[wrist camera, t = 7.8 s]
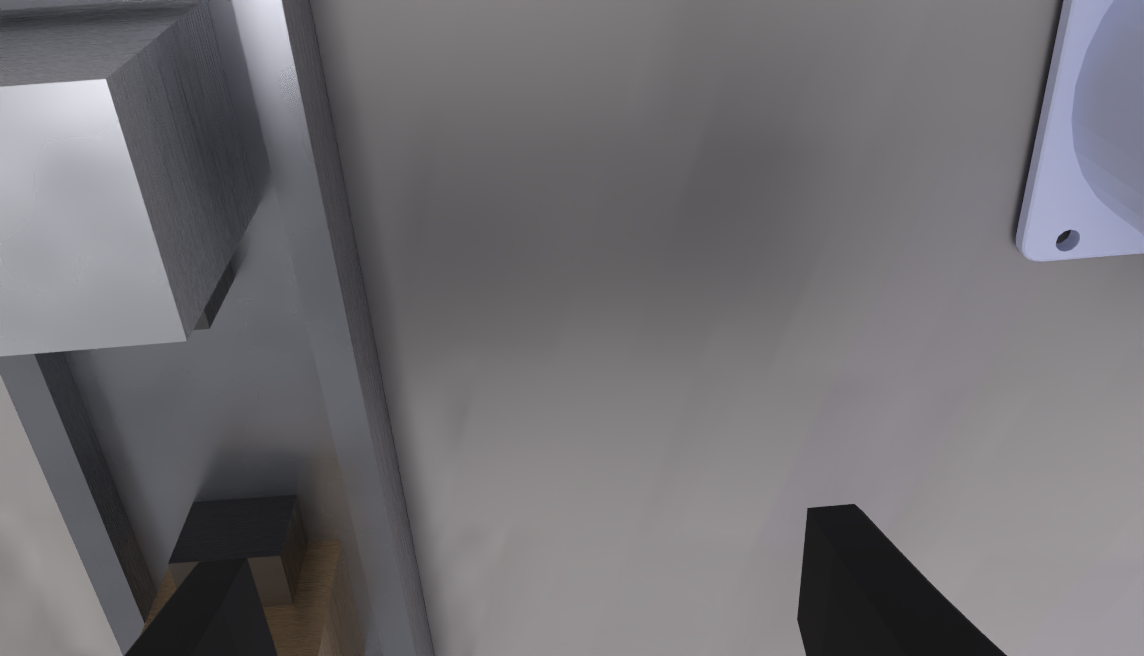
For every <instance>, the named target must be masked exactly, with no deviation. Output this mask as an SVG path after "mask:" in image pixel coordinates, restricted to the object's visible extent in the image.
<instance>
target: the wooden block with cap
mask: <svg viewBox="0 0 1144 656" xmlns="http://www.w3.org/2000/svg"><path fill="white" fill-rule="evenodd" d="M238 558H247V559H248V562H249V565H250V569H251V572H252V575H253V578H254V581H255V585H256V588H257V591H258V594H259V597H260V600H261V604H262V607H263V610H264V613H265V616H266V620H267V623H268V626H269V629H270V632H271V635H272V639H273V642H274V645H275V648H276V651H277V655H278V656H365V650H364V645H363V641H362V636H361V631H360V626H359V622H358V617H357V612H356V607H355V603H354V598H353V593H352V588H351V584H350V579H349V574H348V569H347V565H346V560H345V555H344V551H343V546H342V541H341V540H333V541H319V542H308V540H307V536H306V532H305V527H304V523H303V519H302V515H301V510H300V506H299V502H298V498H297V495H286V496H272V497H257V498H243V499H229V500H214V501H200V502H193V503H192V506H191V508H190V511H189V513H188V516H187V518H186V521H185V523H184V525H183V528H182V530H181V533H180V535H179V538H178V540H177V543H176V545H175V548H174V550H173V552H172V555H171V557H170V560H169V562H168V568H167V571H166V573H165V576H164V578H163V581H162V583H161V586H160V588H159V590H158V593H157V595H156V598H155V600H154V603H153V605H152V608H151V610H150V613H149V615H148V617H147V620H146V622H145V625H144V627H143V630H142V632H143V631H144V630H145V629H146V627H147V626H148V625H149V624H150V622H151V621H152V620H153V619H154V617H155V616H156V615H157V613H158V612H159V611H160V610H161V608H162V607H163V606H164V605H165V603H166V602H167V601H168V599H169V598H170V597H171V596H172V594H173V593H174V592H175V590H176V589H177V588H178V587H179V585H180V584H181V583H182V582H183V580H184V579H185V578H186V577H187V575H188V574H189V573H190V572H191V570H192V569H193V568H194V567H195V566H196V565H197V564H198V563H199V562H204V561H215V560H227V559H238ZM142 632H141V634H142Z"/></svg>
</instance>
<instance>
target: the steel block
mask: <svg viewBox="0 0 1144 656" xmlns="http://www.w3.org/2000/svg"><path fill="white" fill-rule="evenodd" d="M257 208H258V206H257V202H256V198H255V194H254V190H253V185H252V181H251V177H250V173H249V169H248V165H247V161H246V157H245V153H244V149H243V144H242V140H241V136H240V132H239V128H238V124H237V120H236V116H235V112H234V107H233V103H232V99H231V95H230V91H229V87H228V83H227V79H226V75H225V71H224V66H223V62H222V58H221V54H220V50H219V46H218V42H217V38H216V34H215V29H214V25H213V21H212V17H211V13H210V9H209V5H208V1H207V0H148V1H134V2H120V3H106V4H92V5H78V6H64V7H50V8H36V9H22V10H8V11H0V356H12V355H25V354H37V353H49V352H61V351H74V350H86V349H98V348H110V347H122V346H135V345H147V344H159V343H171V342H184V341H187V340H188V338H189V336H190V335H191V333H192V331H193V330H202V329H210V327H211V325H212V323H213V321H214V319H215V317H216V315H217V313H218V311H219V309H220V307H221V305H222V303H223V301H224V299H225V297H226V295H227V293H228V291H229V289H230V287H231V285H232V283H233V281H234V279H235V277H234V273H233V270H232V266H231V262H230V259H231V257H232V256H233V254H234V252H235V250H236V248H237V246H238V244H239V242H240V240H241V239H242V237H243V235H244V233H245V231H246V229H247V227H248V225H249V224H250V222H251V220H252V218H253V216H254V214H255V212H256V210H257Z"/></svg>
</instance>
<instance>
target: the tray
mask: <svg viewBox="0 0 1144 656" xmlns="http://www.w3.org/2000/svg"><path fill="white" fill-rule="evenodd" d="M134 1H148V0H0V11H8V10H22V9H36V8H50V7H64V6H78V5H92V4H106V3H120V2H134ZM207 1H208V5H209V9H210V13H211V17H212V21H213V25H214V29H215V34H216V38H217V42H218V46H219V50H220V54H221V58H222V62H223V66H224V71H225V75H226V79H227V83H228V87H229V91H230V95H231V99H232V103H233V107H234V112H235V116H236V120H237V124H238V128H239V132H240V136H241V140H242V144H243V149H244V153H245V157H246V161H247V165H248V169H249V173H250V177H251V181H252V185H253V190H254V194H255V198H256V202H257V206H258V208H257V210H256V212H255V214H254V216H253V218H252V220H251V222H250V224H249V225H248V227H247V229H246V231H245V233H244V235H243V237H242V239H241V240H240V242H239V244H238V246H237V248H236V250H235V252H234V254H233V256H232V257H231V259H230V262H231V266H232V270H233V273H234V277H235V279H234V281H233V283H232V285H231V287H230V289H229V291H228V293H227V295H226V297H225V299H224V301H223V303H222V305H221V307H220V309H219V311H218V313H217V315H216V317H215V319H214V321H213V323H212V325H211V327H210V329H202V330H193V331H192V333H191V335H190V336H189V338H188V340H187V341H184V342H171V343H159V344H147V345H135V346H122V347H110V348H98V349H86V350H74V351H61V352H49V353H37V354H25V355H12V356H0V374H1V377H2V379H3V381H4V383H5V386H6V388H7V390H8V393H9V395H10V397H11V400H12V402H13V404H14V406H15V409H16V411H17V413H18V416H19V418H20V420H21V422H22V425H23V427H24V429H25V432H26V434H27V436H28V439H29V441H30V443H31V445H32V448H33V450H34V452H35V455H36V457H37V459H38V461H39V464H40V466H41V468H42V471H43V473H44V475H45V477H46V480H47V482H48V484H49V487H50V489H51V491H52V494H53V496H54V498H55V500H56V503H57V505H58V507H59V510H60V512H61V514H62V516H63V519H64V521H65V523H66V526H67V528H68V530H69V532H70V535H71V537H72V539H73V542H74V544H75V546H76V549H77V551H78V553H79V555H80V558H81V560H82V562H83V565H84V567H85V569H86V571H87V574H88V576H89V578H90V581H91V583H92V585H93V587H94V590H95V592H96V594H97V597H98V599H99V601H100V604H101V606H102V608H103V610H104V613H105V615H106V617H107V620H108V622H109V624H110V626H111V629H112V631H113V633H114V636H115V638H116V640H117V643H118V645H119V647H120V649H121V652H122V654H123V656H124V655H125V654H126V653H127V651H128V650H129V649H130V648H131V646H132V645H133V644H134V643H135V641H136V640H137V639H138V638H139V636H140V635H141V632H142V630H143V627H144V625H145V622H146V620H147V617H148V615H149V613H150V610H151V608H152V605H153V603H154V600H155V598H156V595H157V593H158V590H159V588H160V586H161V583H162V581H163V578H164V576H165V573H166V571H167V568H168V562H169V560H170V557H171V555H172V552H173V550H174V548H175V545H176V543H177V540H178V538H179V535H180V533H181V530H182V528H183V525H184V523H185V521H186V518H187V516H188V513H189V511H190V508H191V506H192V503H193V502H200V501H214V500H229V499H243V498H257V497H272V496H286V495H297V498H298V502H299V506H300V510H301V515H302V519H303V523H304V527H305V532H306V536H307V540H308V542H319V541H333V540H341V541H342V546H343V551H344V555H345V560H346V565H347V569H348V574H349V579H350V584H351V588H352V593H353V598H354V603H355V607H356V612H357V617H358V622H359V626H360V631H361V636H362V641H363V645H364V650H365V656H434V652H433V647H432V641H431V636H430V631H429V626H428V620H427V615H426V610H425V605H424V599H423V594H422V589H421V584H420V578H419V573H418V568H417V563H416V557H415V552H414V547H413V542H412V536H411V531H410V526H409V521H408V515H407V510H406V505H405V500H404V495H403V489H402V484H401V479H400V474H399V468H398V463H397V458H396V453H395V447H394V442H393V437H392V432H391V426H390V421H389V416H388V411H387V405H386V400H385V395H384V390H383V384H382V379H381V374H380V369H379V363H378V358H377V353H376V348H375V342H374V337H373V332H372V327H371V321H370V316H369V311H368V306H367V300H366V295H365V290H364V285H363V279H362V274H361V269H360V264H359V258H358V253H357V248H356V243H355V238H354V232H353V227H352V222H351V217H350V211H349V206H348V201H347V196H346V190H345V185H344V180H343V175H342V169H341V164H340V159H339V154H338V148H337V143H336V138H335V133H334V127H333V122H332V117H331V112H330V106H329V101H328V96H327V91H326V85H325V80H324V75H323V70H322V64H321V59H320V54H319V49H318V43H317V38H316V33H315V28H314V22H313V17H312V12H311V7H310V1H309V0H207Z"/></svg>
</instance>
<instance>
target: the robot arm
mask: <svg viewBox="0 0 1144 656" xmlns="http://www.w3.org/2000/svg"><path fill="white" fill-rule="evenodd" d="M1067 230H1071V232H1070V234H1069V236H1068V238H1067V239H1065V240H1064V241H1063V242H1061V243H1057V244H1056V240H1057V238H1058V236H1059V235H1061V234H1062V233H1063V232H1064V231H1067ZM1016 246H1017V248H1018V250H1019V251H1020V252H1021V253H1022V254H1023V255H1024V256H1025V257H1026V258H1028V259H1029V260H1031V261H1037V262H1044V261H1056V260H1068V259H1080V258H1093V257H1105V256H1117V255H1129V254H1142V253H1144V0H1064V1H1063V6H1062V11H1061V16H1060V21H1059V26H1058V31H1057V36H1056V41H1055V46H1054V51H1053V56H1052V61H1051V65H1050V70H1049V75H1048V80H1047V85H1046V90H1045V95H1044V100H1043V105H1042V110H1041V115H1040V120H1039V125H1038V130H1037V135H1036V140H1035V145H1034V150H1033V155H1032V160H1031V165H1030V170H1029V174H1028V179H1027V184H1026V189H1025V194H1024V199H1023V204H1022V209H1021V214H1020V219H1019V224H1018V229H1017V234H1016ZM797 620H798V624H799V628H800V632H801V636H802V640H803V644H804V648H805V652H806V656H1007V655H1006V654H1005V653H1003V652H1002V651H1001V650H1000V649H999V648H998V647H997V646H996V645H995V644H994V643H992V642H991V641H990V640H989V639H988V638H987V637H986V636H985V635H984V634H983V633H982V632H981V631H980V630H979V629H977V628H976V627H975V626H974V625H973V624H972V623H971V622H970V621H969V620H968V619H967V618H966V617H965V616H964V615H963V614H962V613H961V612H960V611H959V610H958V609H957V608H956V607H955V606H954V605H952V604H951V603H950V602H949V601H948V600H947V599H946V598H945V597H944V596H943V595H942V594H941V593H940V592H939V591H938V590H937V589H936V588H935V587H934V586H933V585H932V584H931V583H930V582H929V581H928V580H927V579H926V578H925V577H924V576H923V575H922V574H921V573H920V571H919V570H918V569H917V568H916V567H915V566H914V565H913V564H912V563H911V562H910V561H909V560H908V559H907V558H906V557H905V556H904V555H903V554H902V553H901V552H900V551H899V550H898V549H897V548H896V546H895V545H894V544H893V543H892V542H891V541H890V540H889V539H888V538H887V537H886V536H885V535H884V534H883V533H882V532H881V530H880V529H879V528H878V527H877V526H876V525H875V524H874V523H873V522H872V521H871V520H870V519H869V518H868V517H867V515H866V514H865V513H864V512H863V511H862V510H861V509H860V508H858V507H857V506H856V505H855V504H848V505H837V506H826V507H815V508H808V510H807V521H806V532H805V542H804V553H803V564H802V574H801V585H800V596H799V607H798V617H797ZM124 656H278V655H277V651H276V648H275V645H274V642H273V639H272V635H271V632H270V629H269V626H268V623H267V620H266V616H265V613H264V610H263V607H262V604H261V600H260V597H259V594H258V591H257V588H256V585H255V581H254V578H253V575H252V572H251V569H250V565H249V562H248V559H247V558H238V559H227V560H215V561H204V562H199V563H198V564H197V565H196V566H195V567H194V568H193V569H192V570H191V572H190V573H189V574H188V575H187V577H186V578H185V579H184V580H183V582H182V583H181V584H180V585H179V587H178V588H177V589H176V590H175V592H174V593H173V594H172V596H171V597H170V598H169V599H168V601H167V602H166V603H165V605H164V606H163V607H162V608H161V610H160V611H159V612H158V613H157V615H156V616H155V617H154V619H153V620H152V621H151V622H150V624H149V625H148V626H147V627H146V629H145V630H144V631H143V632H142V634H141V635H140V636H139V638H138V639H137V640H136V641H135V643H134V644H133V645H132V646H131V648H130V649H129V650H128V651H127V653H126V654H125V655H124Z"/></svg>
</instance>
